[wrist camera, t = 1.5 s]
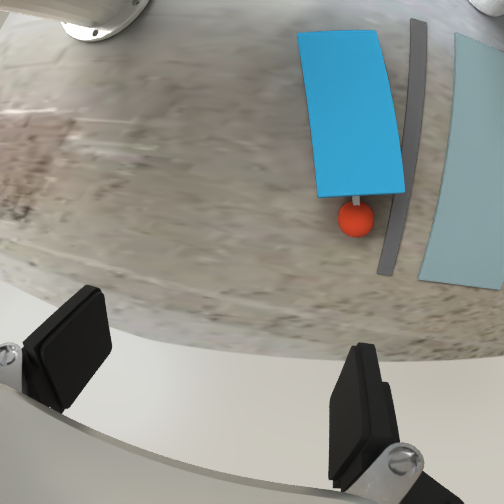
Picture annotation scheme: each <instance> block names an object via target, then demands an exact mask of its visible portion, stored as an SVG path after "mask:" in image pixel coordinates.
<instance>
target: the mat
mask: <svg viewBox="0 0 504 504" xmlns="http://www.w3.org/2000/svg"><path fill="white" fill-rule="evenodd" d="M418 279H419V280H426V281H434V282H442V283H449V284H457V285H465V286H473V287H481V288H489V289H497V290H501V287H502V285H503V282H504V53H503V52H501V51H499V50H497V49H495V48H493V47H490V46H488V45H486V44H484V43H481V42H479V41H477V40H474V39H472V38H469V37H467V36H464V35H462V34H459V33H455V60H454V85H453V99H452V111H451V121H450V130H449V138H448V145H447V152H446V158H445V165H444V171H443V176H442V182H441V187H440V192H439V197H438V202H437V206H436V211H435V215H434V219H433V224H432V228H431V232H430V236H429V240H428V243H427V247H426V251H425V254H424V258H423V261H422V265H421V268H420V272H419V275H418Z"/></svg>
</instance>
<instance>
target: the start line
mask: <svg viewBox="0 0 504 504" xmlns="http://www.w3.org/2000/svg"><path fill="white" fill-rule="evenodd" d="M426 52H427V23H426V22H423V21H419V20H416V19H412V18H411V19H410V61H409V79H408V92H407V104H406V114H405V123H404V132H403V140H402V147H401V157H402V165H403V174H404V184H405V192H404V193H399V194H394V197H393V202H392V207H391V212H390V217H389V222H388V227H387V231H386V236H385V240H384V245H383V249H382V253H381V257H380V261H379V265H378V269H377V274H383V275H392V272H393V268H394V264H395V261H396V257H397V253H398V249H399V245H400V241H401V237H402V232H403V228H404V224H405V219H406V214H407V210H408V205H409V200H410V195H411V189H412V184H413V178H414V172H415V166H416V160H417V153H418V146H419V139H420V131H421V123H422V113H423V103H424V91H425V76H426Z"/></svg>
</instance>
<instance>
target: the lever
mask: <svg viewBox="0 0 504 504" xmlns="http://www.w3.org/2000/svg"><path fill="white" fill-rule="evenodd" d="M297 39H298V46H299V52H300V58H301V64H302V71H303V77H304V84H305V91H306V98H307V105H308V113H309V120H310V128H311V137H312V145H313V155H314V164H315V174H316V185H317V196H318V198H329V197H346V196H352V201H350V202H348V203H346V204H344V205H343V206H342V208H341V209H340V211H339V215H338V223H339V226H340V228H341V230H342V231H343V232H344V233H345V234H347V235H348V236H351V237H357V238H358V237H362V236H364V235H366V234H368V233H369V232H370V230H371V229H372V227H373V224H374V215H373V211H372V210H371V208H370V207H369V206H368V205H367V204H366V203H364V202H362V201H360V196H364V195H385V194H399V193H404V192H405V184H404V174H403V165H402V157H401V149H400V142H399V135H398V129H397V123H396V117H395V111H394V106H393V100H392V95H391V90H390V86H389V81H388V76H387V72H386V68H385V64H384V59H383V55H382V52H381V48H380V44H379V40H378V37H377V33H376V31H375V30H341V31H319V32H305V33H297Z"/></svg>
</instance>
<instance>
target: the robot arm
mask: <svg viewBox="0 0 504 504" xmlns="http://www.w3.org/2000/svg"><path fill="white" fill-rule="evenodd" d="M148 2H149V0H0V11H6V12H13V13H19V14H25V15H31V16H36V17H41V18H46V19H51V20H55V21H60V22H62V25H63V28H64V29H65V31H66V32H67V33H68V34H69V35H70V36H71V37H73V38H75V39H77V40H81V41H89V42H94V41H100V40H103V39H106V38H109V37H111V36H113V35H115V34H117V33H119V32H120V31H121V30H123V29H124V28H126V27H127V26H128V25H129V24H130V23H131V22H132V21H134V20H135V19H136V18H137V17H138V15H139V14H140V13H141V12H142V11H143V9H144V8H145V6H146V5H147V3H148ZM23 345H24V347H23V348H22V349H21V348H20V346H18V345H17V344H14V343H4V344H1V345H0V504H464V502H463V501H462V500H461V499H460V498H459V497H457V496H456V495H454V494H453V493H452V492H450V491H449V490H448V489H446V488H445V487H444V486H442V485H441V484H439V483H438V482H437V481H435V480H434V479H433V478H431V477H430V476H429V475H428V474H426V473H425V472H424V471H423V468H424V459H423V456H422V454H421V453H420V451H419V450H418V449H417V448H416V447H414V446H412V445H410V444H408V443H403V442H402V443H400V439H399V433H398V426H397V421H396V415H395V410H394V405H393V399H392V394H391V390H390V386H389V383H388V382H382V379H381V374H380V369H379V364H378V359H377V354H376V349H375V346H374V344H368V343H360V342H359V343H358V344H357V345H356V346H352V347H351V349H350V351H349V354H348V356H347V359H346V361H345V364H344V366H343V369H342V371H341V374H340V376H339V379H338V381H337V383H336V385H335V388H334V390H333V392H332V395H331V398H330V406H329V408H330V410H329V411H330V415H329V418H330V419H329V423H330V425H329V471H328V478H329V480H333V488H341V492H338V491H333V490H326V489H318V488H311V487H303V486H295V485H288V484H281V483H274V482H269V481H263V480H257V479H252V478H246V477H241V476H236V475H231V474H227V473H223V472H218V471H214V470H210V469H206V468H202V467H199V466H195V465H191V464H188V463H184V462H181V461H178V460H174V459H171V458H168V457H164V456H162V455H158V454H155V453H153V452H149V451H147V450H144V449H141V448H138V447H136V446H133V445H130V444H127V443H125V442H122V441H120V440H118V439H115V438H113V437H110V436H108V435H105V434H103V433H101V432H98V431H96V430H94V429H91V428H89V427H87V426H85V425H83V424H81V423H79V422H77V421H74V420H72V419H70V418H68V417H66V416H64V415H62V413H63V411H64V410H65V409H68V408H69V407H70V406H71V405H72V404H73V402H74V401H75V399H76V398H77V397H78V395H79V394H80V393H81V391H82V390H83V388H84V387H85V386H86V384H87V383H88V382H89V380H90V379H91V378H92V376H93V375H94V374H95V372H96V371H97V370H98V368H99V367H100V366H101V365H102V363H103V362H104V360H105V359H106V358H107V357H108V355H109V354H110V352H111V349H112V342H111V336H110V331H109V325H108V318H107V312H106V305H105V298H104V294H103V293H102V292H101V290H100V289H99V288H97V287H94V286H90V285H85V286H84V287H83V288H81V289H80V290H79V291H78V292H77V293H76V294H75V295H73V296H72V297H71V298H70V299H69V300H68V301H67V302H65V303H64V304H63V305H62V306H61V307H60V308H59V309H58V310H57V311H56V312H54V313H53V314H52V315H51V316H50V317H49V318H48V319H47V320H46V321H45V322H44V323H43V324H41V325H40V326H39V327H38V328H37V329H36V330H35V331H34V332H33V333H32V334H31V335H30V336H29V337H28V338H27V339H26V340H25V341H23ZM49 407H51V408H49Z"/></svg>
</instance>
